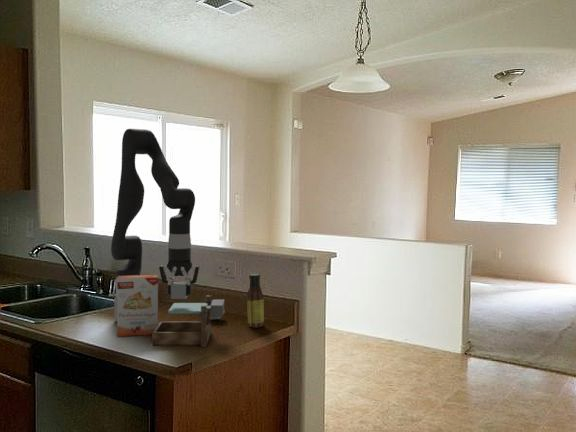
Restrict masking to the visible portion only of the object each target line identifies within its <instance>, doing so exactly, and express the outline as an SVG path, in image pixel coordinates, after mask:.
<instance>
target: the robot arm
mask: <svg viewBox="0 0 576 432" xmlns="http://www.w3.org/2000/svg"><path fill="white" fill-rule="evenodd" d="M137 155H147V156H148V157H149V158H150V160H152V161H151V162H152V163H151V166H150V172H151V176H152V178H153V180H154V181H155V183H156V184H157V186H158V187H159V189H160V193H161V195H162V200H163V203H164V205H165V206H166V207H167V208H169V209H171V210H179V211H178V213H177V214H176V215H173V216H171V217H169V221H168V225H169V226H168V229H169V230H168V231H169V232H168V233H169V234H168V243H167V244H168V249H167V250H168V254H167V255H168V256H167V257H168V258H167V259H168V261H167V264H165V265H163V264H161V265H160V266H159V267H158V269H159V274H160V278H161V283H163V284H166V285H167V294H168V295H169V296H170V297H171V284H172V283H173V282H174V278H175V277H184V280H185V282H186V283H187V285H186V296H187V297H189V296H190V295H191V293H192V285H194V284H196V283H197V280H198V277H199V273H200V267H201V266H199V265H194V264H193V263H192V261H191V260H192V259H191V258H192V256H191V255H192V254H191V253H192V248H191V247H192V239H191V220H192V218H193V217H192V216H193V211H194V210H195V205H196V196H195V193H194V191H193V190H192V189H191V188H186V187H185V188H180V187H179V186H180V180H179V177H178V176H177V175H176V173H175V172H174V171H173V169H172V168H171V167H170V165H169V163H168V161H167V159H166V157H165V156H164V155H165V154H164V153H163V150H162V148H161V146H160V143H159V141H158V139H157V137H156V135H155V134H154V132H152V130H149V129H143V128H127V129H125V130H124V132H123V136H122V141H121V170H120V178H119V179H120V180H119V188H118V195H117V207H116V208H117V209H116V216H115V217H116V218H115V223H114V229H113V233H112V237H111V238H112V239H111V246H110V247H111V248H110V252H111V257H112V259H113V260H115V261H125V260H127V261H128V262H127V263H126V264H124V265H123V266H121V267H119V268H117V269H116V271H115V297H114V322H115V323H117V278H118V276H134V275H141V272H142V271H141V270H142V259H143V257H142V256H143V244H142V243H143V242H142V240H141V238H140V236H138V235H127V231H128V229H129V227H130V224H131V223H132V221H134V219H135V218H136V217H137V215H138V214H139V212H140V211H141V209H142V208H143V205H144V197H145V186H144V184H143V182H142V179H141V178H140V176H139V173H138V171H137V169H136V156H137ZM178 187H179V188H178ZM191 269H192V271H193V276H192V279H191V278H190V274H189V272H190V270H191ZM167 270H169V272H170V276H169V279H167V274H166V271H167Z"/></svg>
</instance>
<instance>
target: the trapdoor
mask: <svg viewBox="0 0 576 432" xmlns="http://www.w3.org/2000/svg"><path fill="white" fill-rule="evenodd" d="M202 305H206V310H207V311H211V317H221V318H223V317H224V314H225V312H224V309H225V299H212V304H211V306H208V303H205V302H173V304H172V305H171V306H170V308H169V309H168V310H167V314H169V315H170V314H172V315H173V314H175V315H176V314H178V315H179V314H181V315H182V314H184V315H185V314H186V315H187V314H190V315H191V314H192V315H193V314H194V315H195V314H199V315H200V311H201V306H202Z"/></svg>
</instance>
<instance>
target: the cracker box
mask: <svg viewBox="0 0 576 432" xmlns="http://www.w3.org/2000/svg"><path fill="white" fill-rule="evenodd" d="M158 316H159V277H158V274H144V275H142V274H140V275H134V276H118V278H117V322H116V323H117V325H116V327H117V329H116V336H117V338H118V337H132V336H133V337H134V336H151V335H152V333H153V331H154V330H155V328H156V327H157V326H158V324H159V320H158V319H159V317H158Z"/></svg>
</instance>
